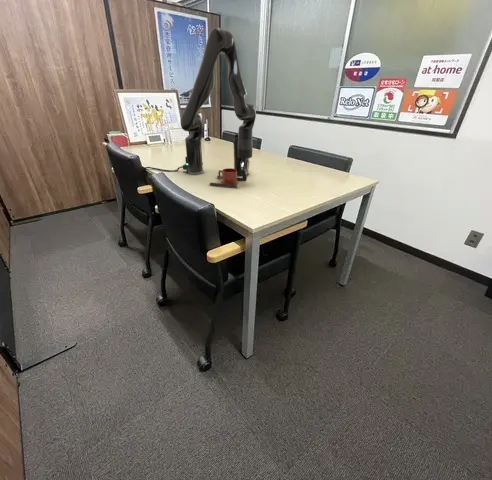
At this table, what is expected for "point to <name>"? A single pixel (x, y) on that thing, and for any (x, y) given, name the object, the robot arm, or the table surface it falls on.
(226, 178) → the mug
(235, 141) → the water bottle
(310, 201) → the table surface
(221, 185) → the guide rails
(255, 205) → the table surface
